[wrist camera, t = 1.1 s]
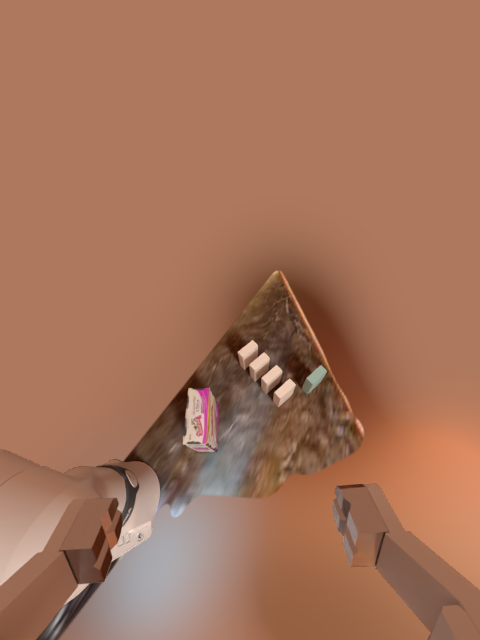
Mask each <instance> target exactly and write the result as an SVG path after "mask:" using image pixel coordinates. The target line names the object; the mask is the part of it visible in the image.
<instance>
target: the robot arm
mask: <svg viewBox="0 0 480 640" xmlns="http://www.w3.org/2000/svg"><path fill="white" fill-rule="evenodd" d="M335 495H336V497H337V498H336V499H335V500H333V514H334V519H335V522H336V525H337V529H338V531H339V532H340V533H341V534H342V535H343V536H344V541H343V546H344V549H345V552H346V555H347V558H348V560H349V563H350V566H351V567H372V566H376V569H377V570H378V571H379V573H380V574H381V575H382V576H383V577H384V578H385V580H386V581H387V582H388V583H389V584H390V585H391V587H392V588H393V589H394V590H395V591H396V593H397V594H398V595H399V596H400V597H401V598H402V600H403V601H404V602H405V603H406V604H407V605H408V607H409V608H410V609H411V610H412V611H413V612H414V614H415V615H416V616H417V617H418V618H419V619H420V620H421V622H422V623H423V624H424V625H425V626H426V627H427V629H428V630H429V631H430V632H431V634H430V635H429V637H428V640H480V590H479V589H478V588H477V587H475V586H474V585H473V584H472V583H471V582H469V581H468V580H467V579H466V578H465V577H463V576H462V575H461V574H460V573H458V572H457V571H456V570H455V569H454V568H453V567H451V566H450V565H449V564H448V563H447V562H445V561H444V560H443V559H442V558H441V557H439V556H438V555H437V554H436V553H435V552H434V551H432V550H431V549H430V548H428V546H426V545H425V544H424V543H423V542H422V541H420V540H419V539H418V538H417V537H416V536H414V535H413V534H412V533H411V532H409V531H405V530H404V528H403V527H402V525H401V523H400V522H399V519H398V518H397V516H396V514H395V513H394V511H393V509H392V507H391V505H390V504H389V502H388V500H387V498H386V496H385V495H384V493H383V491H382V489H381V488H380V486H379V485H377V484H354V485H341V486H336V488H335ZM159 497H160V485H159V481H158V478H157V475H156V473H155V472H154V470H153V469H152V468H151V467H150V466H149V465H147V464H145V463H143V462H139V461H131V462H123V461H120V460H117V459H113V460H110V461H109V462H108V463H106V464H101V465H99V466H97V467H87V466H79V467H75V468H72V469H70V470H68V471H66V472H65V473H61V472H58V471H55V470H53V469H50V468H48V467H45V466H41V465H39V464H36V463H34V462H32V461H30V460H27V459H25V458H23V457H20V456H18V455H16V454H14V453H11V452H9V451H6V450H1V449H0V640H36V639H37V637H38V636H39V635H40V634H41V632H42V631H43V630H44V629H45V627H46V626H47V625H48V624H49V622H50V621H51V620H52V619H53V617H54V616H55V615H56V614H57V612H58V611H59V610H60V609H61V607H62V606H63V605H65V604H66V603H68V602H69V601H70V600H72V599H73V598H75V597H76V596H77V595H78V594H79V593H80V592H82V591H83V590H84V589H85V588H86V586H87V585H88V584H89V583H99V582H104V581H105V578H106V576H107V573H108V570H109V567H110V564H111V562H112V561H114V560H115V559H117V558H119V557H120V556H122V555H123V554H125V553H126V552H128V551H129V550H131V549H133V548H134V547H136V546H137V545H139V544H141V543H142V542H144V541H145V540H147V539H148V538H150V536H151V534H152V530H153V518H154V515H155V512H156V509H157V506H158V503H159ZM140 533H141V534H142V537H141V538H140V537H139V535H140Z"/></svg>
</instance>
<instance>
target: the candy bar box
mask: <svg viewBox="0 0 480 640" xmlns="http://www.w3.org/2000/svg"><path fill="white" fill-rule="evenodd" d="M218 420H219V405H218V403H217V401H216V399H215V398H214V395H213V393H212V392H211V390H210V388H188V396H187V405H186V414H185V424H184V434H183V445H185V446H188V447H189V448H192V449H194V450H196V451H198V452H217V449H218Z"/></svg>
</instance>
